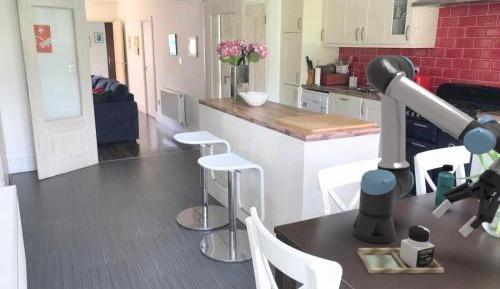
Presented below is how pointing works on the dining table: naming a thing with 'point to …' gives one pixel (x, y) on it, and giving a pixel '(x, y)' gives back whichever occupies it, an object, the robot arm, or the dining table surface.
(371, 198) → the robot arm
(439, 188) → the beverage bottle
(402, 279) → the dining table surface
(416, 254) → the medicine bottle
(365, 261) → the wooden divided tray
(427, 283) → the dining table surface
